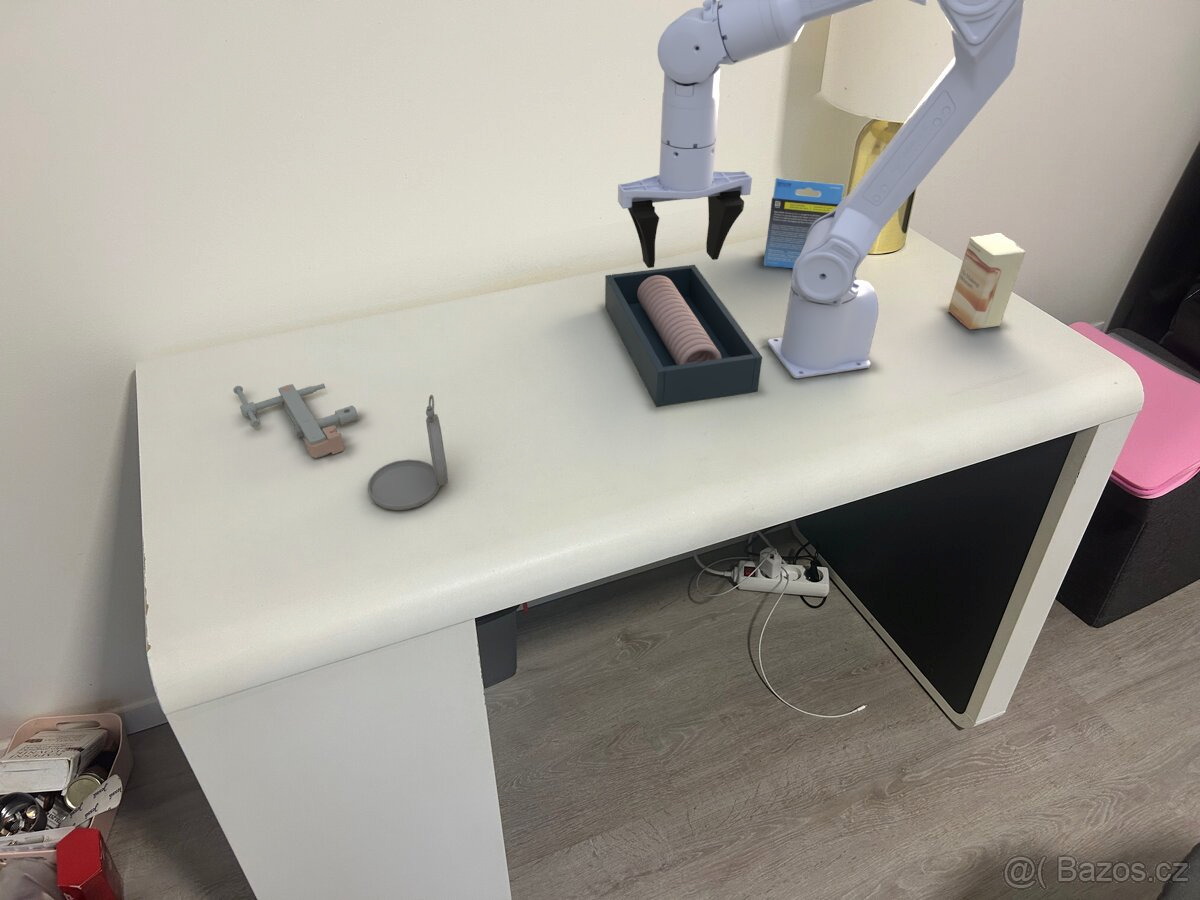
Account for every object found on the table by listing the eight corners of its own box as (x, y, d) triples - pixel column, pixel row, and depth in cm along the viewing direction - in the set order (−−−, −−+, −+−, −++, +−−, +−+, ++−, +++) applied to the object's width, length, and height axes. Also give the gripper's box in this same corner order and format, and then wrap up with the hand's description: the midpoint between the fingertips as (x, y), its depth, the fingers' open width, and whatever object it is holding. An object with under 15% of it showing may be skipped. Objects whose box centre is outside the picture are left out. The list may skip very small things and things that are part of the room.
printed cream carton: (945, 310, 106) (967, 235, 100) (977, 306, 107) (1001, 231, 100) (969, 331, 102) (993, 254, 96) (1001, 327, 103) (1027, 250, 96)
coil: (727, 347, 90) (674, 271, 104) (686, 349, 89) (638, 272, 103) (719, 384, 93) (668, 305, 107) (679, 386, 92) (633, 306, 105)
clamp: (368, 424, 84) (268, 458, 80) (372, 441, 86) (273, 476, 82) (320, 355, 94) (228, 382, 90) (324, 371, 96) (234, 399, 92)
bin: (692, 296, 109) (694, 264, 106) (757, 391, 92) (762, 356, 90) (605, 307, 107) (605, 275, 104) (656, 407, 90) (657, 371, 87)
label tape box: (829, 260, 117) (845, 173, 109) (828, 274, 114) (845, 184, 106) (765, 254, 118) (776, 167, 110) (762, 267, 115) (774, 179, 107)
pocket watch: (355, 491, 80) (334, 405, 74) (426, 450, 85) (412, 366, 78) (408, 532, 76) (390, 445, 69) (480, 486, 80) (469, 401, 74)
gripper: (739, 121, 92) (727, 237, 101) (610, 133, 89) (609, 251, 98) (765, 143, 87) (750, 264, 95) (629, 156, 84) (626, 279, 93)
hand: (680, 259), depth 96 cm, fingers open, 7 cm apart
